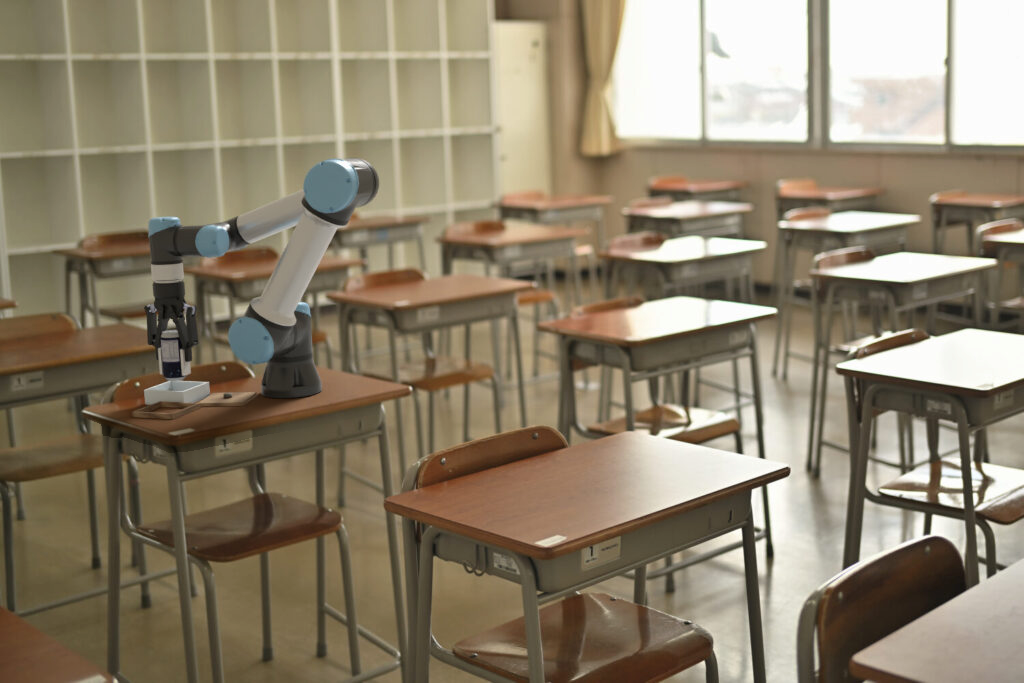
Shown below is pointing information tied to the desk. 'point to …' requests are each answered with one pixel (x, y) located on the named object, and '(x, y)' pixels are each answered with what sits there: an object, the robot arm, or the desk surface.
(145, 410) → the frame
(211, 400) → the lid
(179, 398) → the tray
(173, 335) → the beverage can
